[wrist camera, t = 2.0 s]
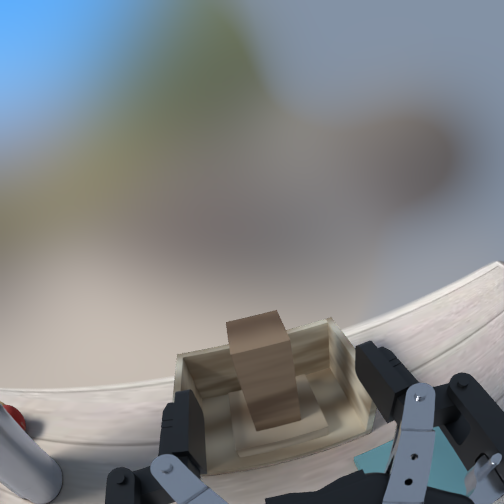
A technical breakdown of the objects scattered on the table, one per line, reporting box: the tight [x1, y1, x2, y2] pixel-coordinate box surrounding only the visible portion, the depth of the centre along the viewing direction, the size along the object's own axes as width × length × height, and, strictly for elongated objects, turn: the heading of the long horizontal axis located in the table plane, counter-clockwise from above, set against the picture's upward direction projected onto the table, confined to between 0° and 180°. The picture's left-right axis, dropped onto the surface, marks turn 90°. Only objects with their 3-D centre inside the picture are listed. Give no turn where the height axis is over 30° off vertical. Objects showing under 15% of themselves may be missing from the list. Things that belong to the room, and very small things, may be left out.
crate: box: [173, 317, 377, 476], centre depth 28 cm, size 13×20×9 cm, turn 99°
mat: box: [354, 426, 468, 496], centre depth 16 cm, size 12×12×1 cm
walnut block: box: [226, 310, 301, 431], centre depth 26 cm, size 5×5×12 cm
